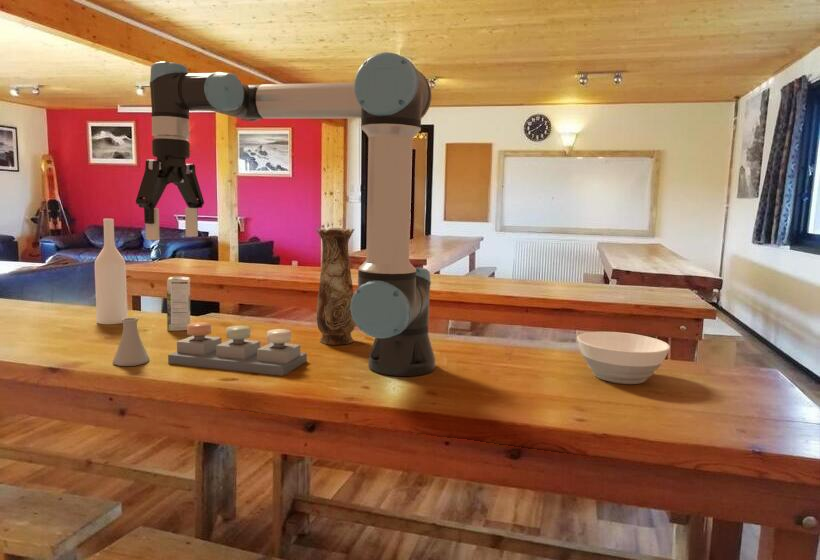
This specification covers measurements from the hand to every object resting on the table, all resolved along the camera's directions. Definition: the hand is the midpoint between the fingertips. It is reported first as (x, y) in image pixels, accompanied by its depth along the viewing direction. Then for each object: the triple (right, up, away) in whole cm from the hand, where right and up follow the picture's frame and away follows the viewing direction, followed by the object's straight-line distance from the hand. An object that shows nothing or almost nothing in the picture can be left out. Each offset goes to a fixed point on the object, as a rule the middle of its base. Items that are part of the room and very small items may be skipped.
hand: (173, 238), depth 130 cm
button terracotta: (+3, -24, +7) cm, 25 cm away
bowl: (+99, -31, +2) cm, 104 cm away
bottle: (-35, -22, +43) cm, 60 cm away
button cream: (+23, -25, +2) cm, 34 cm away
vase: (+32, -26, +28) cm, 50 cm away
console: (+13, -28, +5) cm, 31 cm away
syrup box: (-13, -23, +37) cm, 45 cm away
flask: (-10, -28, +2) cm, 30 cm away
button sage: (+13, -24, +4) cm, 28 cm away
